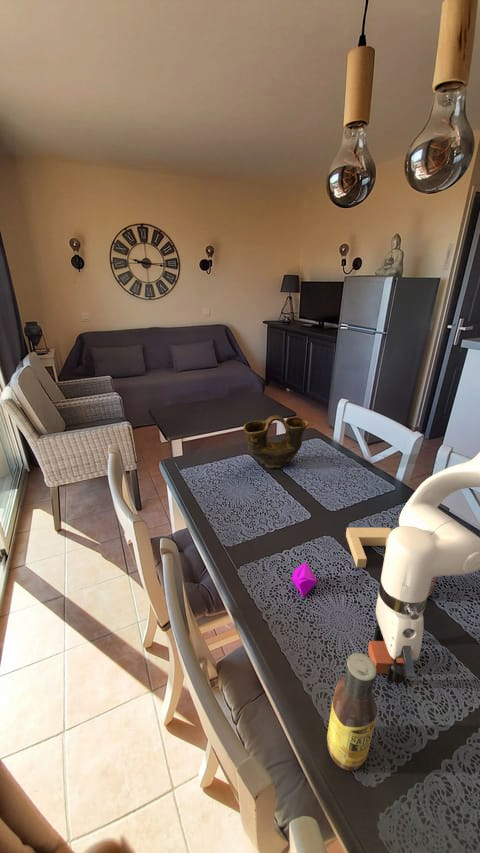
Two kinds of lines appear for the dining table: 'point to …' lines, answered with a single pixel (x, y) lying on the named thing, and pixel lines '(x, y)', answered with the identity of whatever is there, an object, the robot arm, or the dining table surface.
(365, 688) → the sauce bottle
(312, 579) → the crystal
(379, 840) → the dining table surface
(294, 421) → the pottery vessel
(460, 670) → the dining table surface
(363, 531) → the tan u-shaped block
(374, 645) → the terracotta block
